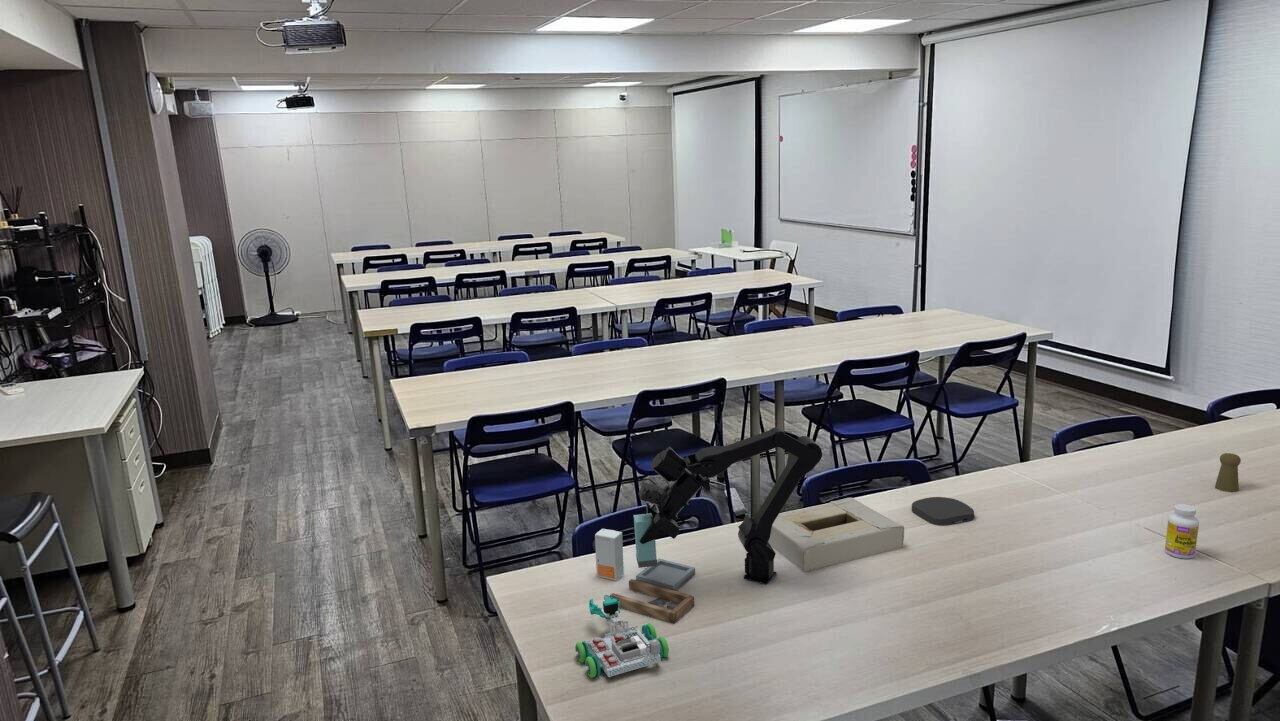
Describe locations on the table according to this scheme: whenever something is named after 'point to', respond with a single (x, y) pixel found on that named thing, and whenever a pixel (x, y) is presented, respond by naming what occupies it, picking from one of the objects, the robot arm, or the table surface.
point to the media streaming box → (942, 510)
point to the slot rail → (653, 610)
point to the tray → (666, 574)
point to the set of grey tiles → (663, 603)
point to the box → (833, 534)
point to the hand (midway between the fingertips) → (639, 538)
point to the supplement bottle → (1182, 532)
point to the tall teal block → (647, 550)
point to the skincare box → (609, 554)
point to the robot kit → (620, 644)
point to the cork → (1228, 473)
